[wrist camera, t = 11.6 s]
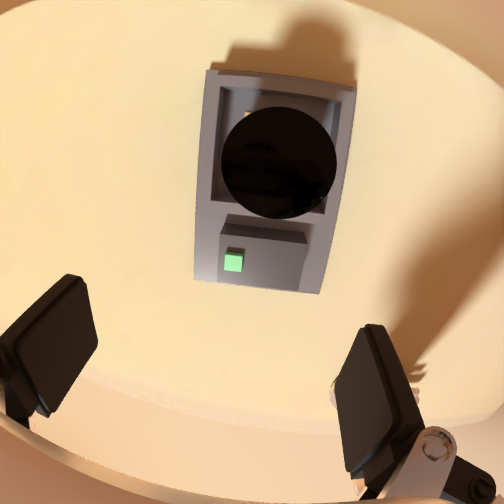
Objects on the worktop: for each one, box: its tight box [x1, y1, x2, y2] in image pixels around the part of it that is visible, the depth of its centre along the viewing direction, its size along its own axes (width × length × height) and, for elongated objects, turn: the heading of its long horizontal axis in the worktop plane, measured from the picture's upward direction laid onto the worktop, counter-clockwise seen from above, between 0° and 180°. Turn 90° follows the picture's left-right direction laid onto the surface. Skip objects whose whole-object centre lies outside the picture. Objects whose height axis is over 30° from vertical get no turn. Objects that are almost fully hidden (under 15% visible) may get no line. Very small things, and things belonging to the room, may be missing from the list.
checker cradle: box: [194, 70, 357, 294], centre depth 26 cm, size 14×22×5 cm, turn 174°
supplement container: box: [221, 107, 337, 219], centre depth 21 cm, size 7×7×10 cm
